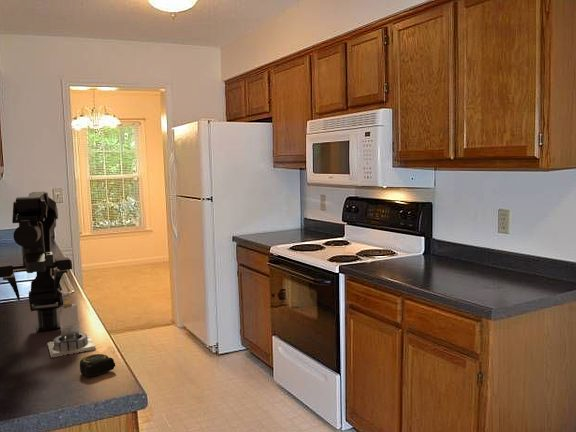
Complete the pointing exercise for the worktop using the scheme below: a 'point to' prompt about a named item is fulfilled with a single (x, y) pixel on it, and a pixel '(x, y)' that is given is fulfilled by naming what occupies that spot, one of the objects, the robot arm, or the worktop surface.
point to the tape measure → (96, 364)
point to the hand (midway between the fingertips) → (37, 297)
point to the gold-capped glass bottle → (69, 321)
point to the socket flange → (70, 345)
